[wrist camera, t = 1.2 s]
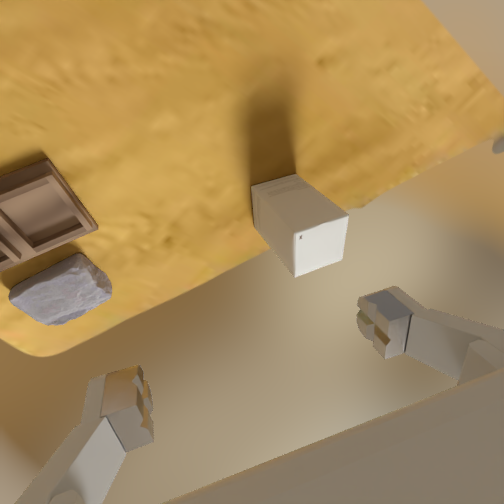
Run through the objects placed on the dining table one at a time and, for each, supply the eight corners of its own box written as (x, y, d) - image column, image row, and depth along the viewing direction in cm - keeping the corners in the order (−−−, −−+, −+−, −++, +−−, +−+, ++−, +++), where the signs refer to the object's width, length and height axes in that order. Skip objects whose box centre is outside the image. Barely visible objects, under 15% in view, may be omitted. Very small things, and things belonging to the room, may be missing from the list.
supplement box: (253, 228, 58) (292, 280, 48) (249, 185, 53) (293, 232, 42) (296, 215, 61) (343, 261, 50) (297, 172, 55) (350, 213, 44)
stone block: (116, 277, 55) (77, 245, 47) (121, 299, 52) (81, 270, 44) (53, 309, 54) (3, 283, 46) (55, 333, 52) (2, 310, 43)
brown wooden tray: (-117, 222, 36) (-127, 233, 34) (48, 157, 39) (46, 165, 37) (-35, 283, 43) (-40, 295, 42) (98, 225, 46) (98, 234, 44)
